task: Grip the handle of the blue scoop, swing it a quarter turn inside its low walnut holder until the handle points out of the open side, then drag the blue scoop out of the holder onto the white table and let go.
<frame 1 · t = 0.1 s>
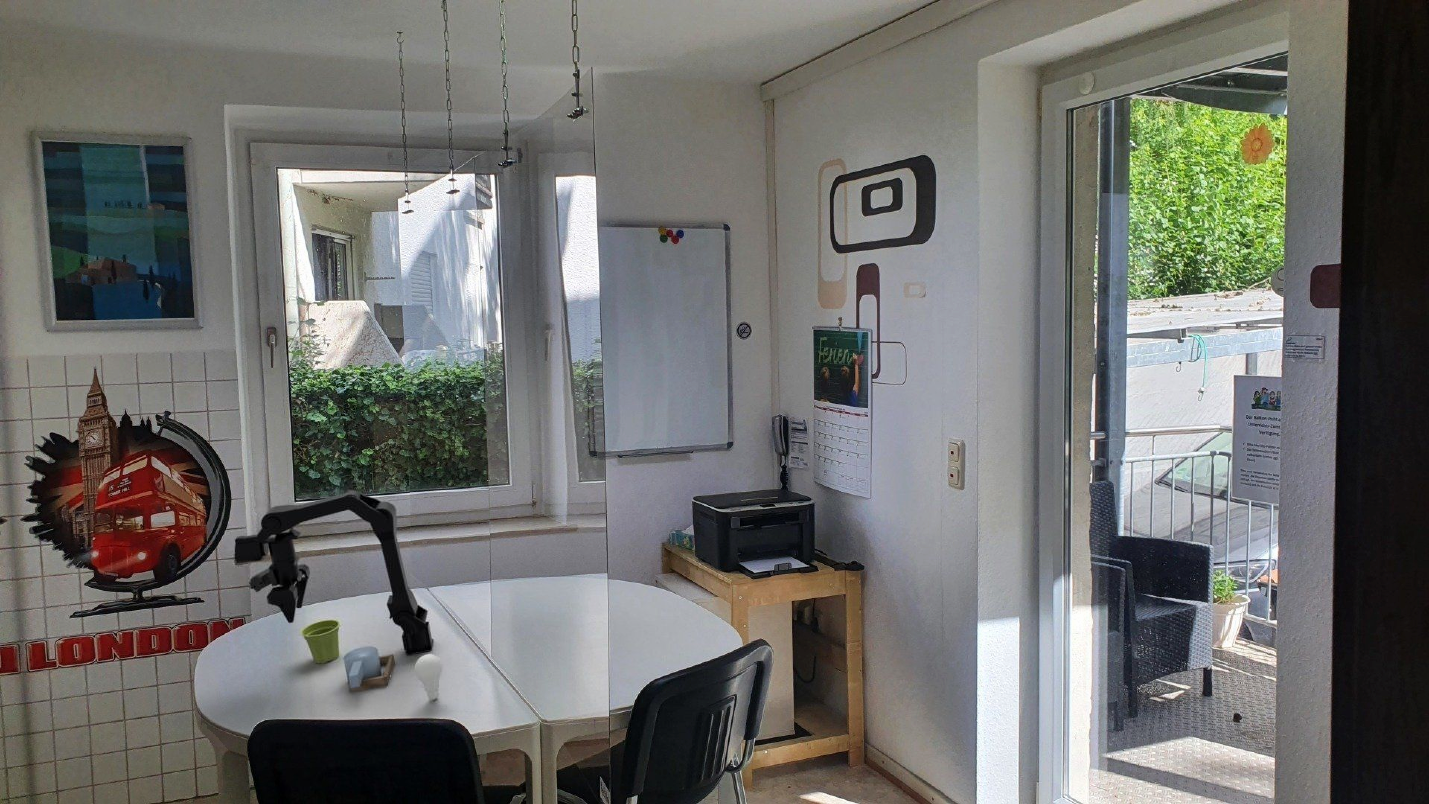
hand: (295, 615, 243), 15 cm above the table, fingers open, 9 cm apart
holder: (365, 677, 238), on the table
lightbulb: (434, 700, 224), on the table
blue scoop: (365, 678, 238), on the table
plant pot: (326, 659, 251), on the table
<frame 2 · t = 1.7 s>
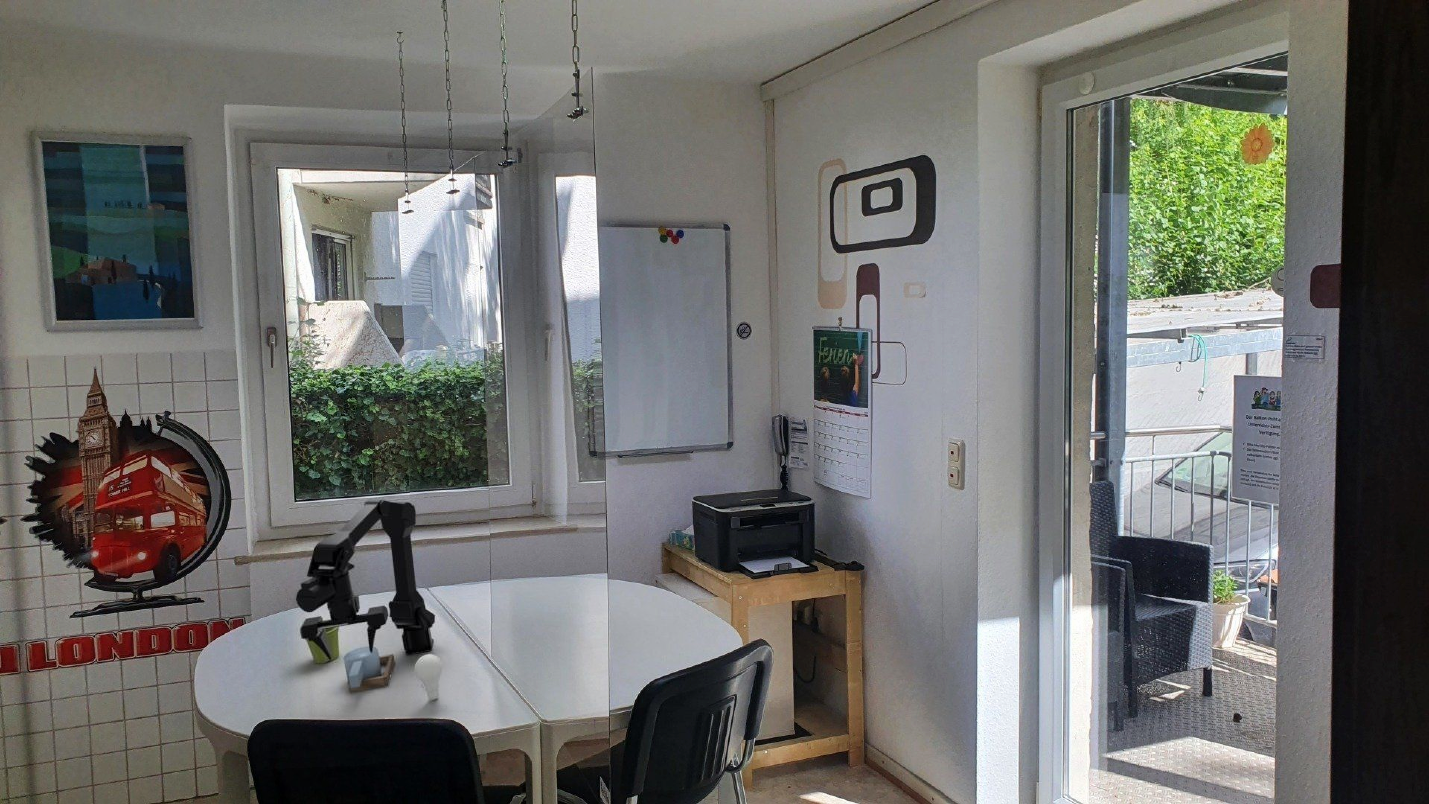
hand: (351, 655, 227), 11 cm above the table, fingers open, 9 cm apart
nothing on the table moved.
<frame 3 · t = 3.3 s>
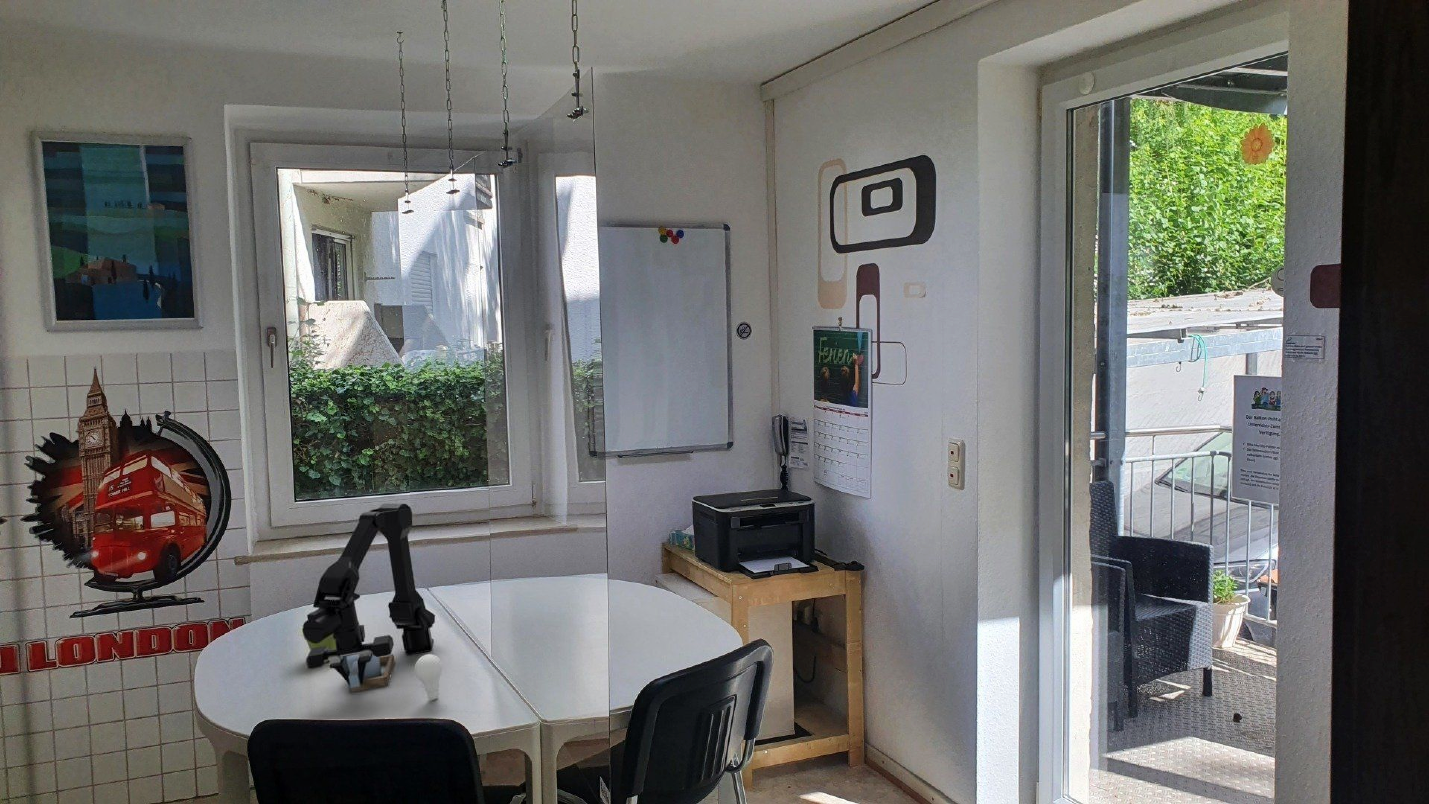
hand: (356, 684, 228), 3 cm above the table, fingers closed on blue scoop, 2 cm apart
blue scoop: (365, 677, 238), on the table, touching gripper
everything else where it was.
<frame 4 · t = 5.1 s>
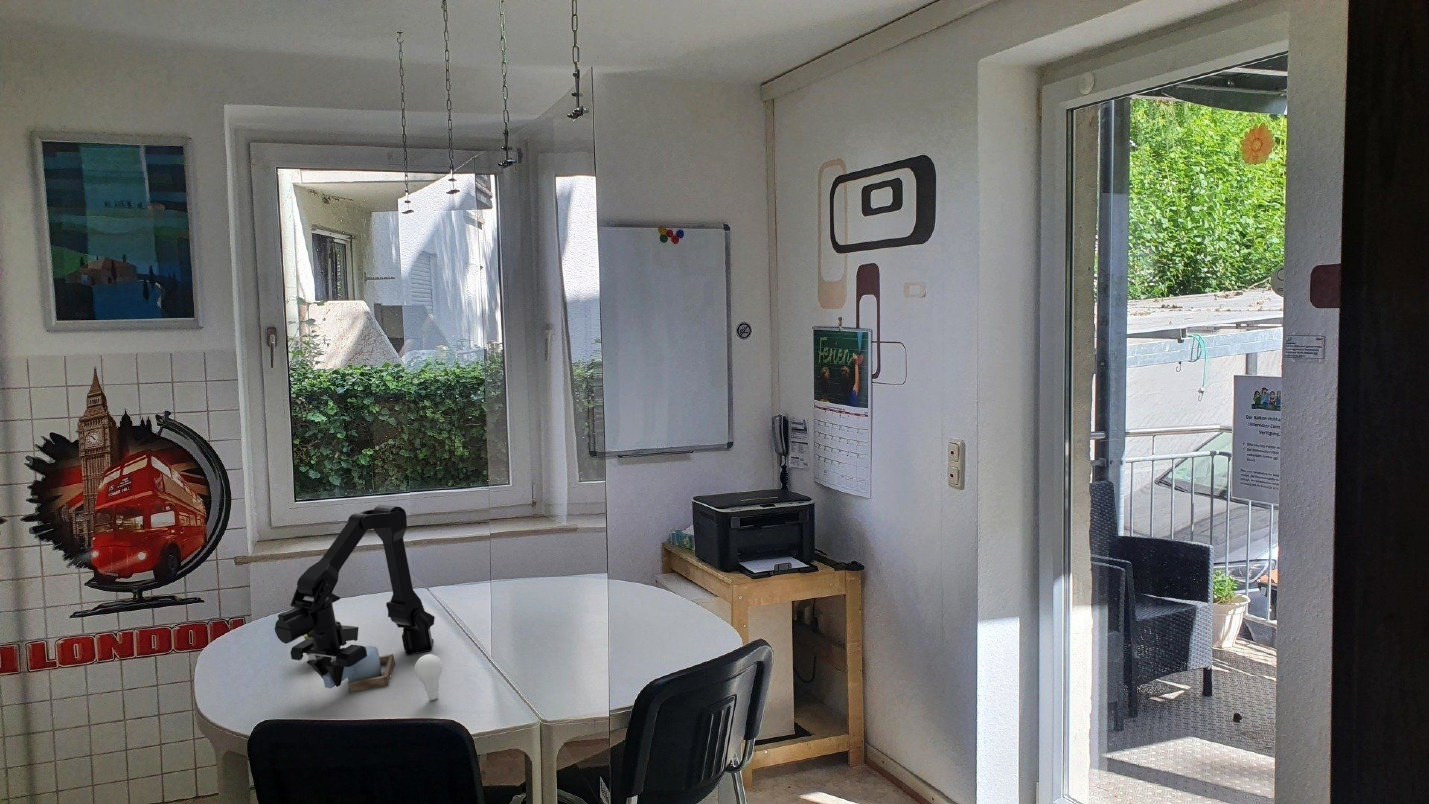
hand: (334, 685, 229), 3 cm above the table, fingers closed on blue scoop, 2 cm apart
blue scoop: (365, 677, 238), on the table, touching gripper
everything else where it was.
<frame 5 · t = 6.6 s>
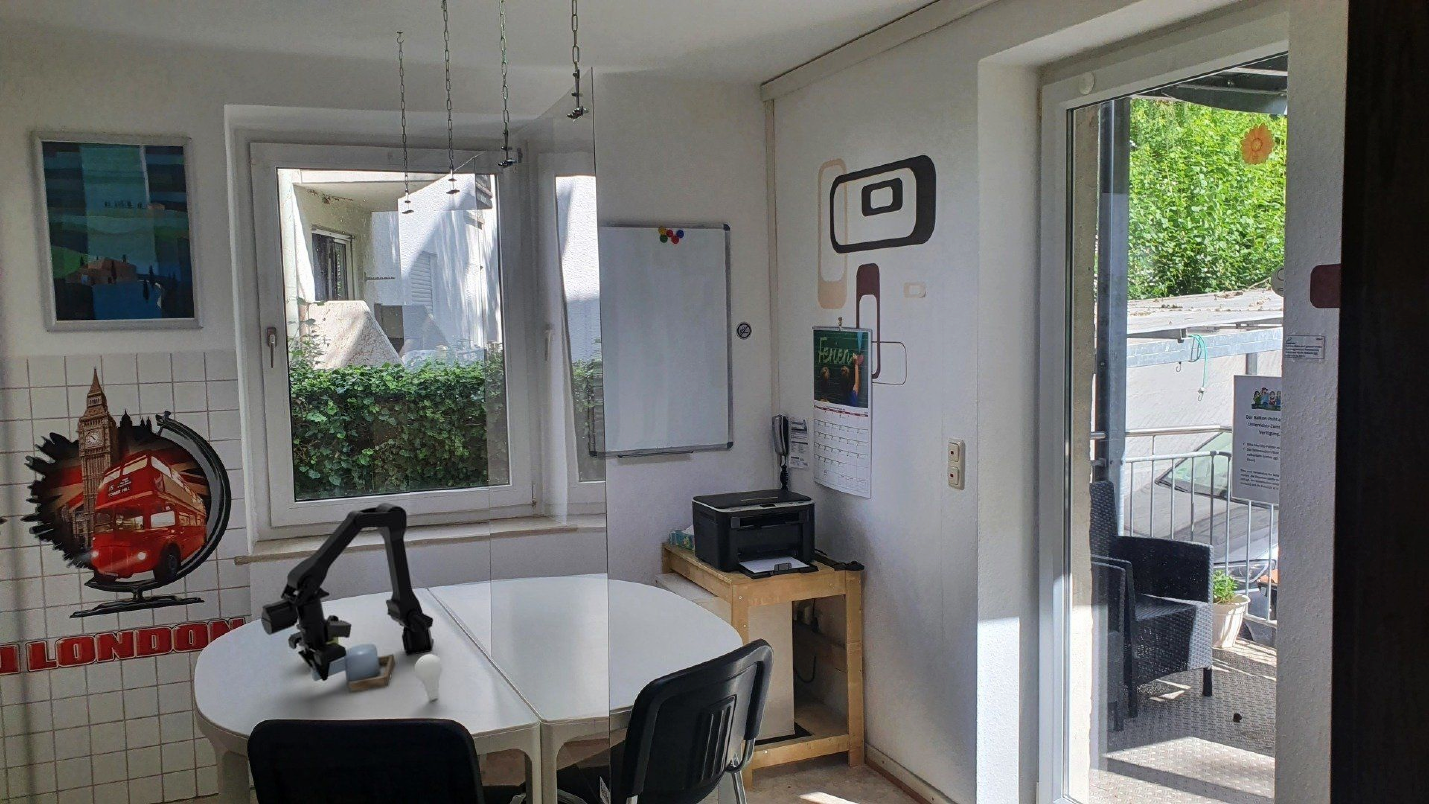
hand: (322, 678, 233), 3 cm above the table, fingers closed on blue scoop, 2 cm apart
blue scoop: (363, 675, 239), on the table, touching gripper, holder
everything else where it was.
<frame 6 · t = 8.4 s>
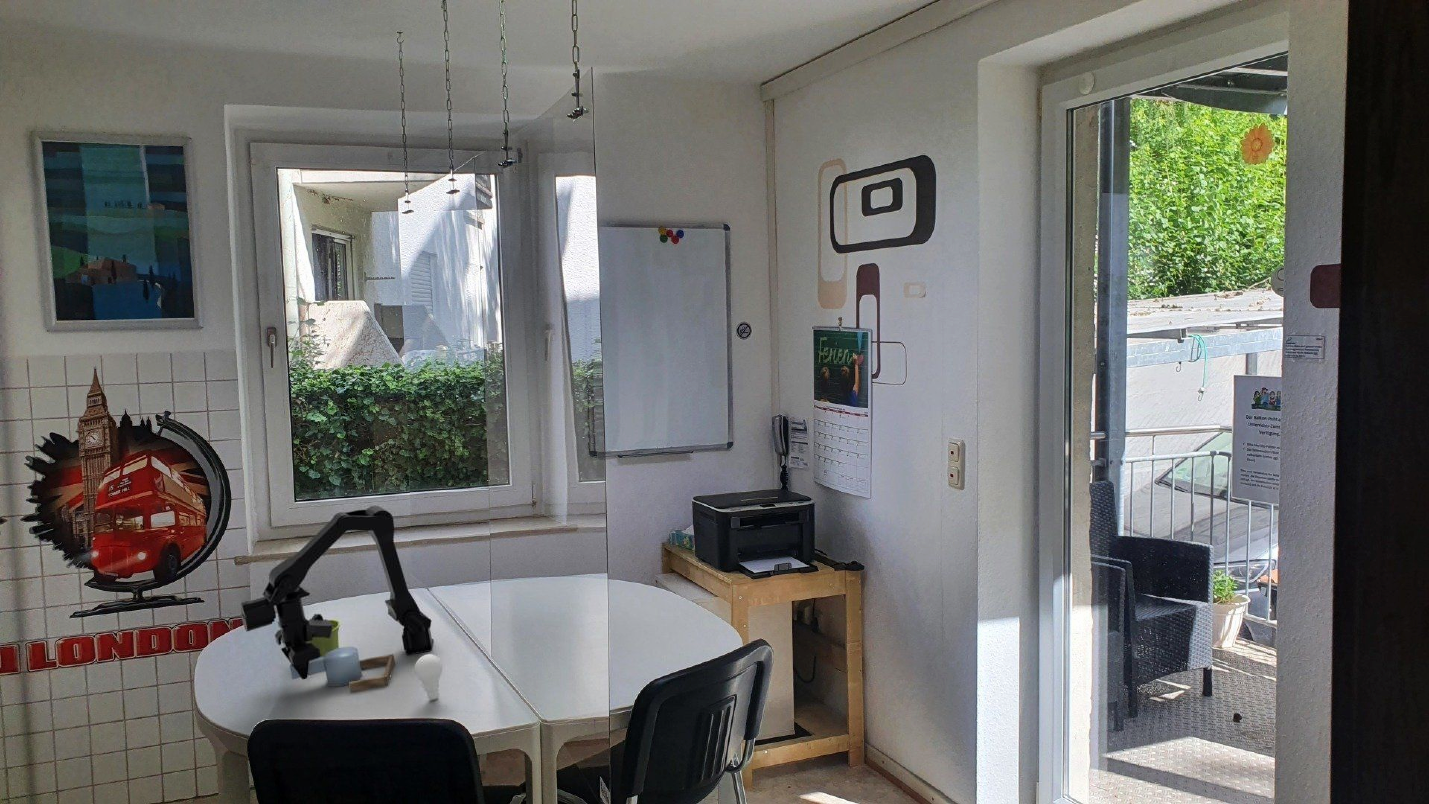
hand: (303, 676, 235), 3 cm above the table, fingers closed on blue scoop, 2 cm apart
blue scoop: (344, 678, 239), on the table, touching gripper
everything else where it was.
when the fingers open (3 cm above the table, at t = 9.2 s): blue scoop stays where it is, on the table.
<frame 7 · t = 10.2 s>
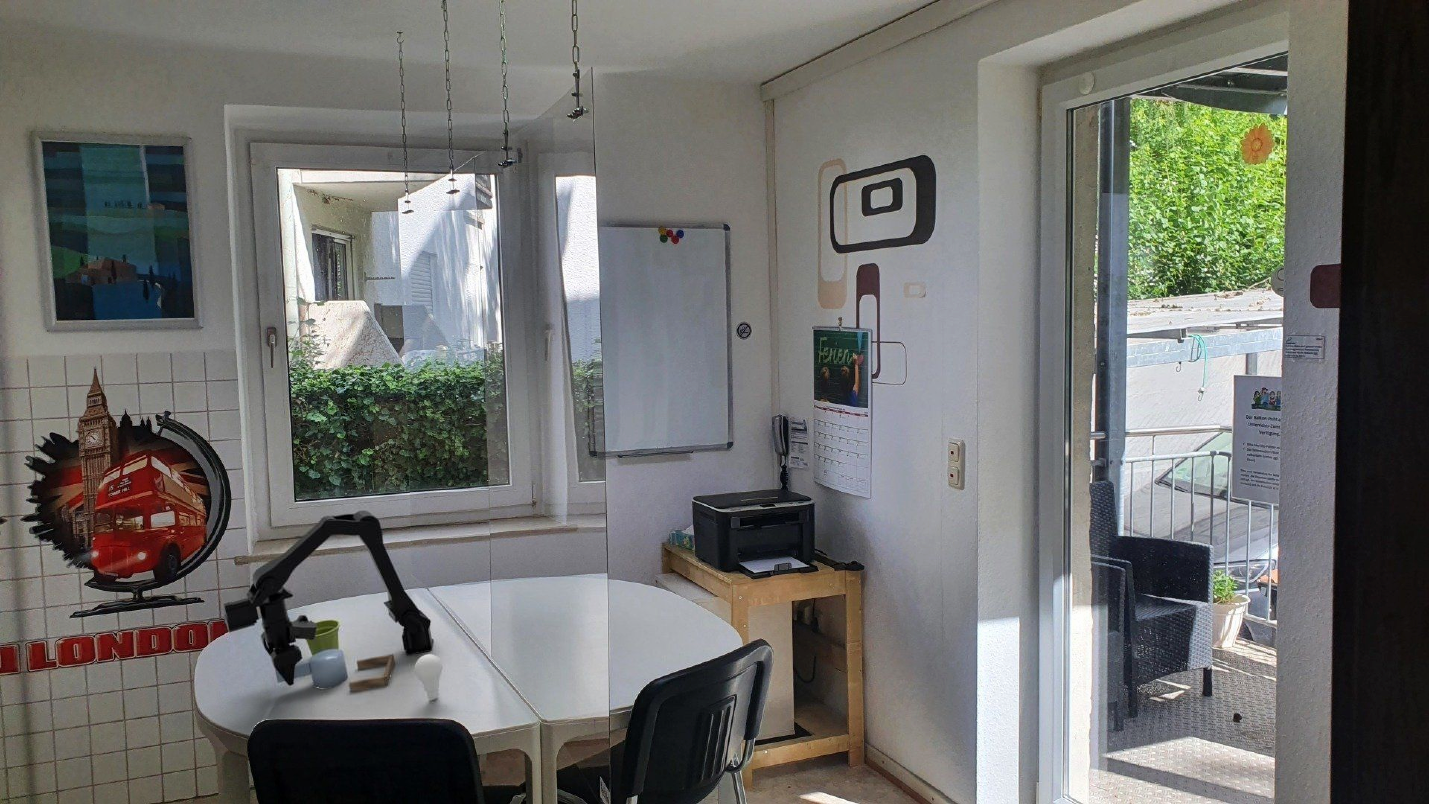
hand: (287, 678, 234), 4 cm above the table, fingers open, 9 cm apart
blue scoop: (330, 680, 238), on the table
everything else where it was.
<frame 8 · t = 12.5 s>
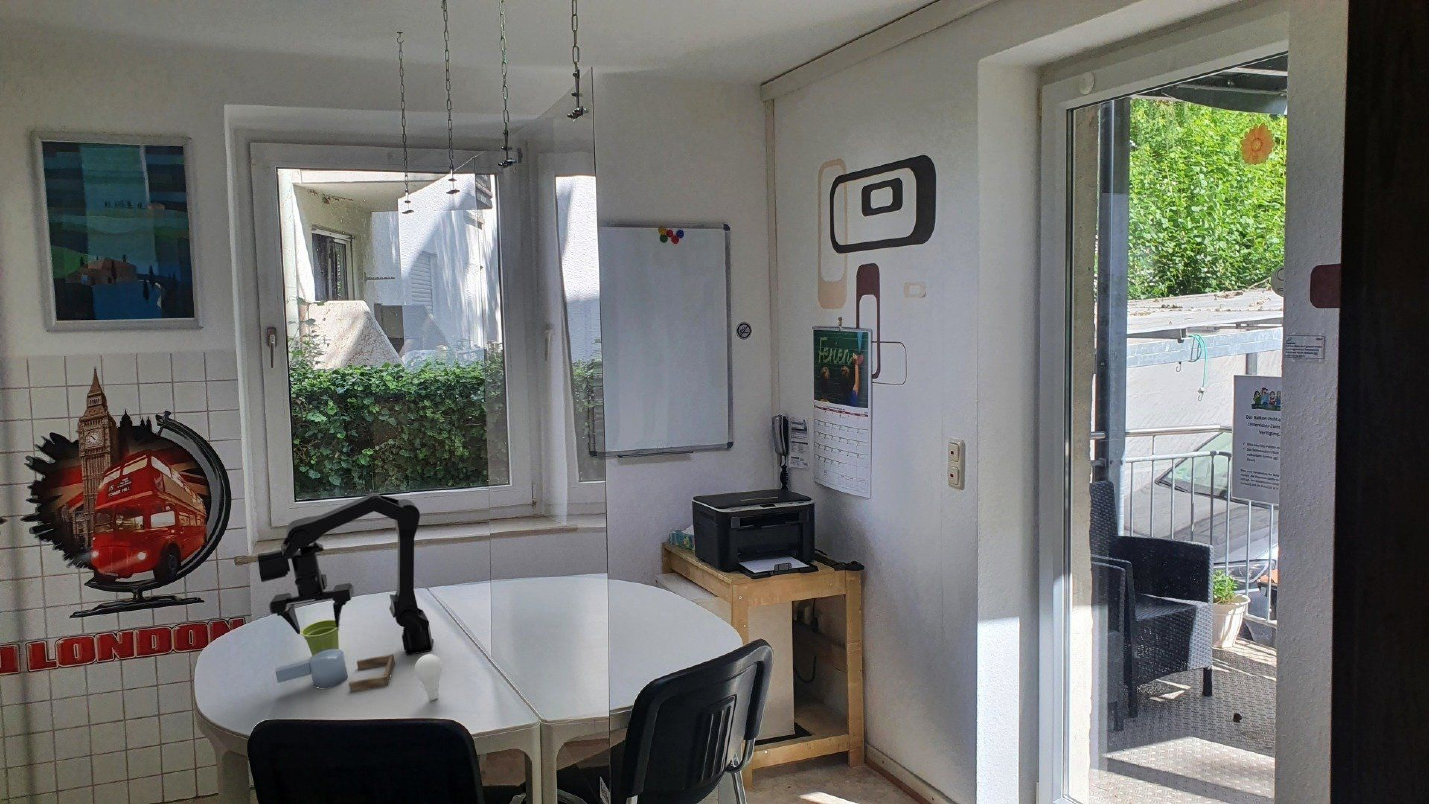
hand: (318, 630, 239), 12 cm above the table, fingers open, 9 cm apart
nothing on the table moved.
at the end: blue scoop inside the target area on the table beside the holder (2.2 cm from its centre), on the table; blue scoop tilted 0°; the gripper is holding nothing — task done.
